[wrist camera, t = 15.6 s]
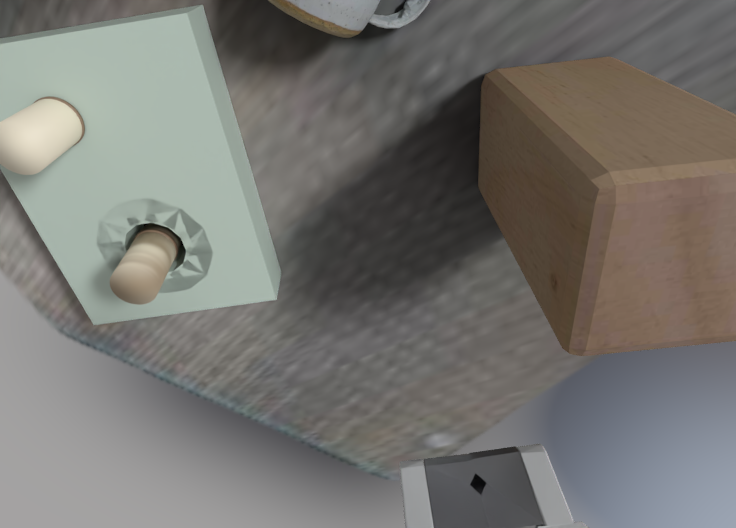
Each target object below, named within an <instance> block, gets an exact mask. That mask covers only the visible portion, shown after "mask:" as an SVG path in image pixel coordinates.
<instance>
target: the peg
mask: <svg viewBox="0 0 736 528" xmlns="http://www.w3.org/2000/svg"><path fill="white" fill-rule="evenodd" d="M180 240H181V238H180V237H179V236H178V235H177V234H175V233H174V232H173V231H172V230H171V229H169V228H168V227H165V226H161V225H158V224H155V223H149V224H148V225H146V226H144V227H143V228H142V229H141V230H140V232H139V233H138V234H137V235H136V236H135V238H134V240H133V243H132V244H131V246H130V247H129V249H128V251H127V252H126V254H125V255H124V257H123V258H122V260H121V261H120V263H119V265H118V266H117V268H116V269H115V271H114V272H113V274H112V276H111V277H110V287H111V290H112V291H113V293H114V294H115V295H116V296H117V297H118V298H120V299H121V300H123V301H125V302H128V303H131V304H137V305H141V304H147V303H149V302H151V301H153V300H154V299H155V298H156V296H157V294H158V292H159V290H160V288H161V286H162V284H163V282H164V280H165V278H166V276H167V274H168V272H169V269H170V267H171V265H172V263H173V262H174V260H175V259H176V257H177V255H178V251H179V249H180Z"/></svg>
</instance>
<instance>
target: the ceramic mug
mask: <svg viewBox="0 0 736 528" xmlns="http://www.w3.org/2000/svg"><path fill="white" fill-rule="evenodd" d="M268 1H269V2H271V3H272V4H273V5H275V6H276V7H277V8H279V9H280V10H282V11H283V12H285V13H287V14H288V15H290V16H292V17H294V18H296V19H297V20H299V21H301V22H303V23H305V24H307V25H309V26H311V27H314V28H316V29H318V30H321V31H323V32H326V33H328V34H332V35H335V36H339V37H344V38H350V37H353V36H355V35H358V34H359V33H360V32H361V31H362V30H363V29H364V28H365V26H366V25H367V23H368V22H369V23H371V24H373V25H375V26H377V27H383V28H400V27H402V26H404V25H407V24H409V23H410V22H412V21H413V20H415V19H416V18H417V17H418V16H419V15H420V14H421V13H422V11H423V10H424V9H425V8H426V7H427V5H428V4H429V2H430V0H407V1H406V2H405V4H404V7H403V9H402V10H401V11H399V12H397V13H395V14H391V15H388V16H383V15H376V14H374V12H375V10H376V8H377V6H378V4H379V2H380V0H268Z"/></svg>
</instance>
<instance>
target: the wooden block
mask: <svg viewBox="0 0 736 528" xmlns="http://www.w3.org/2000/svg"><path fill="white" fill-rule="evenodd" d="M478 187H479V190H480V192H481V194H482V196H483V198H484V200H485V202H486V204H487V206H488V207H489V209H490V211H491V213H492V215H493V217H494V219H495V221H496V223H497V225H498V226H499V228H500V230H501V232H502V234H503V236H504V238H505V240H506V242H507V244H508V246H509V247H510V249H511V251H512V253H513V255H514V257H515V259H516V261H517V263H518V265H519V266H520V268H521V270H522V272H523V274H524V276H525V278H526V280H527V282H528V284H529V285H530V287H531V289H532V291H533V293H534V295H535V297H536V299H537V301H538V303H539V304H540V306H541V308H542V310H543V312H544V314H545V316H546V318H547V320H548V322H549V324H550V325H551V327H552V329H553V331H554V333H555V335H556V337H557V339H558V341H559V343H560V344H561V346H562V348H563V349H564V350H566V351H567V352H568V353H569V354H573V355H578V356H588V355H599V354H609V353H617V352H618V353H619V352H629V351H639V350H648V349H658V348H669V347H678V346H689V345H699V344H708V343H720V342H729V341H736V115H735V114H733V113H731V112H729V111H727V110H725V109H722V108H720V107H718V106H716V105H714V104H712V103H710V102H708V101H705V100H703V99H701V98H699V97H697V96H695V95H693V94H690V93H688V92H686V91H684V90H682V89H680V88H678V87H676V86H673V85H671V84H669V83H667V82H665V81H663V80H661V79H658V78H656V77H654V76H652V75H650V74H648V73H646V72H644V71H641V70H639V69H637V68H635V67H633V66H631V65H629V64H626V63H624V62H622V61H620V60H618V59H615V58H612V57H601V58H592V59H583V60H574V61H565V62H556V63H547V64H538V65H529V66H519V67H510V68H501V69H495V70H493V71H491V72H489V73H487V74H485V77H484V80H483V82H482V85H481V110H480V142H479V174H478Z"/></svg>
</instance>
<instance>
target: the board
mask: <svg viewBox="0 0 736 528" xmlns="http://www.w3.org/2000/svg"><path fill="white" fill-rule="evenodd" d="M0 169H1V171H2V173H3V174H4V176H5V178H6V179H7V181H8V183H9V184H10V186H11V188H12V189H13V191H14V193H15V194H16V196H17V198H18V199H19V201H20V203H21V204H22V206H23V208H24V209H25V211H26V213H27V214H28V216H29V218H30V219H31V221H32V223H33V225H34V226H35V228H36V230H37V231H38V233H39V235H40V236H41V238H42V240H43V241H44V243H45V245H46V246H47V248H48V250H49V251H50V253H51V255H52V256H53V258H54V260H55V261H56V263H57V265H58V266H59V268H60V270H61V271H62V273H63V275H64V276H65V278H66V280H67V281H68V283H69V285H70V286H71V288H72V290H73V291H74V293H75V295H76V296H77V298H78V300H79V301H80V303H81V305H82V306H83V308H84V310H85V311H86V313H87V315H88V316H89V318H90V320H91V321H92V323H93V325H99V324H106V323H113V322H120V321H127V320H134V319H142V318H149V317H156V316H163V315H170V314H178V313H185V312H192V311H199V310H206V309H213V308H221V307H228V306H235V305H242V304H249V303H256V302H264V301H271V300H277V295H278V289H279V284H280V278H281V269H280V266H279V262H278V259H277V256H276V252H275V249H274V245H273V242H272V239H271V235H270V232H269V228H268V225H267V222H266V218H265V215H264V212H263V208H262V205H261V201H260V198H259V195H258V191H257V188H256V184H255V181H254V178H253V174H252V171H251V167H250V164H249V161H248V157H247V154H246V150H245V147H244V144H243V140H242V137H241V133H240V130H239V127H238V123H237V120H236V116H235V113H234V110H233V106H232V103H231V99H230V96H229V93H228V89H227V86H226V82H225V79H224V76H223V72H222V69H221V65H220V62H219V59H218V55H217V52H216V48H215V45H214V42H213V38H212V35H211V31H210V28H209V25H208V21H207V18H206V14H205V11H204V8H203V5H198V6H192V7H186V8H180V9H174V10H168V11H162V12H156V13H150V14H144V15H138V16H132V17H126V18H120V19H114V20H108V21H102V22H96V23H90V24H84V25H78V26H72V27H66V28H60V29H54V30H48V31H42V32H36V33H30V34H24V35H18V36H12V37H6V38H0ZM146 223H155V224H158V225H161V226H165V227H168V228H169V229H171V230H172V231H173V232H174V233H175V234H177V235H178V236H179V237H180V238H181V240H182V242H183V246H180V249H179V251H178V255H177V257H176V259H175V260H174V262H173V263H172V265H171V267H170V269H169V272H168V274H167V276H166V278H165V280H164V282H163V284H162V286H161V288H160V290H159V292H158V294H157V296H156V298H155V299H154V300H153V301H151V302H149V303H147V304H141V305H137V304H131V303H128V302H125V301H123V300H121V299H120V298H118V297H117V296H116V295H115V294H114V293H113V291H112V290H111V287H110V277H111V276H112V274H113V272H114V271H115V269H116V268H117V266H118V265H119V263H120V261H121V260H122V258H123V257H124V255H125V254H126V252H127V251H128V249H129V247H130V246H131V244H132V243H133V240H134V238H135V236H136V235H137V234H138V233H139V232H140V230H141V229H142V228H143V227H144V225H143V224H146Z"/></svg>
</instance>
